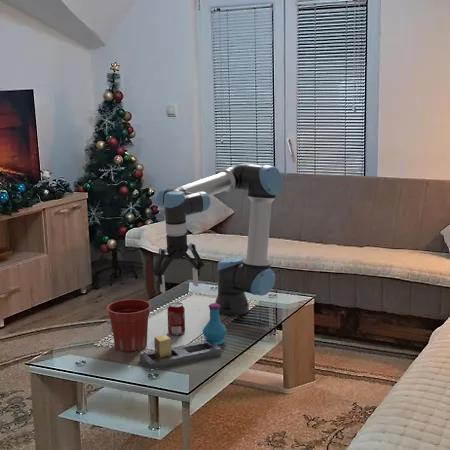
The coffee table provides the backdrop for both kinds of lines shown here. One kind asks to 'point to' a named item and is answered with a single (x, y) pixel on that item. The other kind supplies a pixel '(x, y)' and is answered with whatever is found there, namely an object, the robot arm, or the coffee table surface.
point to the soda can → (176, 318)
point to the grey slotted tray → (182, 354)
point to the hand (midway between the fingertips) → (179, 288)
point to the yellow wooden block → (162, 347)
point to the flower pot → (129, 323)
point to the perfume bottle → (214, 326)
